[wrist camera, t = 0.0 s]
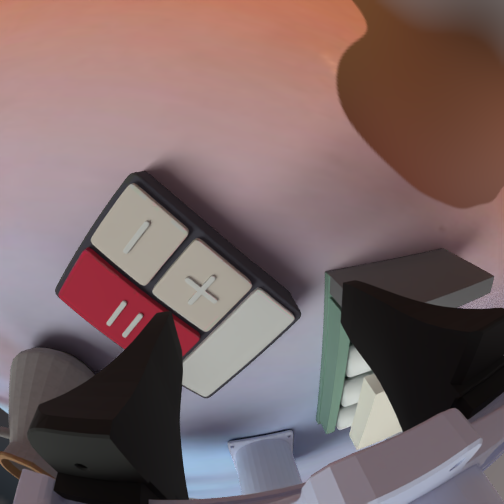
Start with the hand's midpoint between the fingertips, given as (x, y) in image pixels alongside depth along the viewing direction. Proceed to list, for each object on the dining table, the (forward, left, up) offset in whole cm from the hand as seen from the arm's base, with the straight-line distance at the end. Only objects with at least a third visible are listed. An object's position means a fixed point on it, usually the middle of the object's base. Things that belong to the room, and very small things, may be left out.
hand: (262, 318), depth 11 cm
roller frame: (-14, -14, -10) cm, 22 cm away
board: (-17, -14, -6) cm, 23 cm away
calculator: (-3, +5, -11) cm, 12 cm away
